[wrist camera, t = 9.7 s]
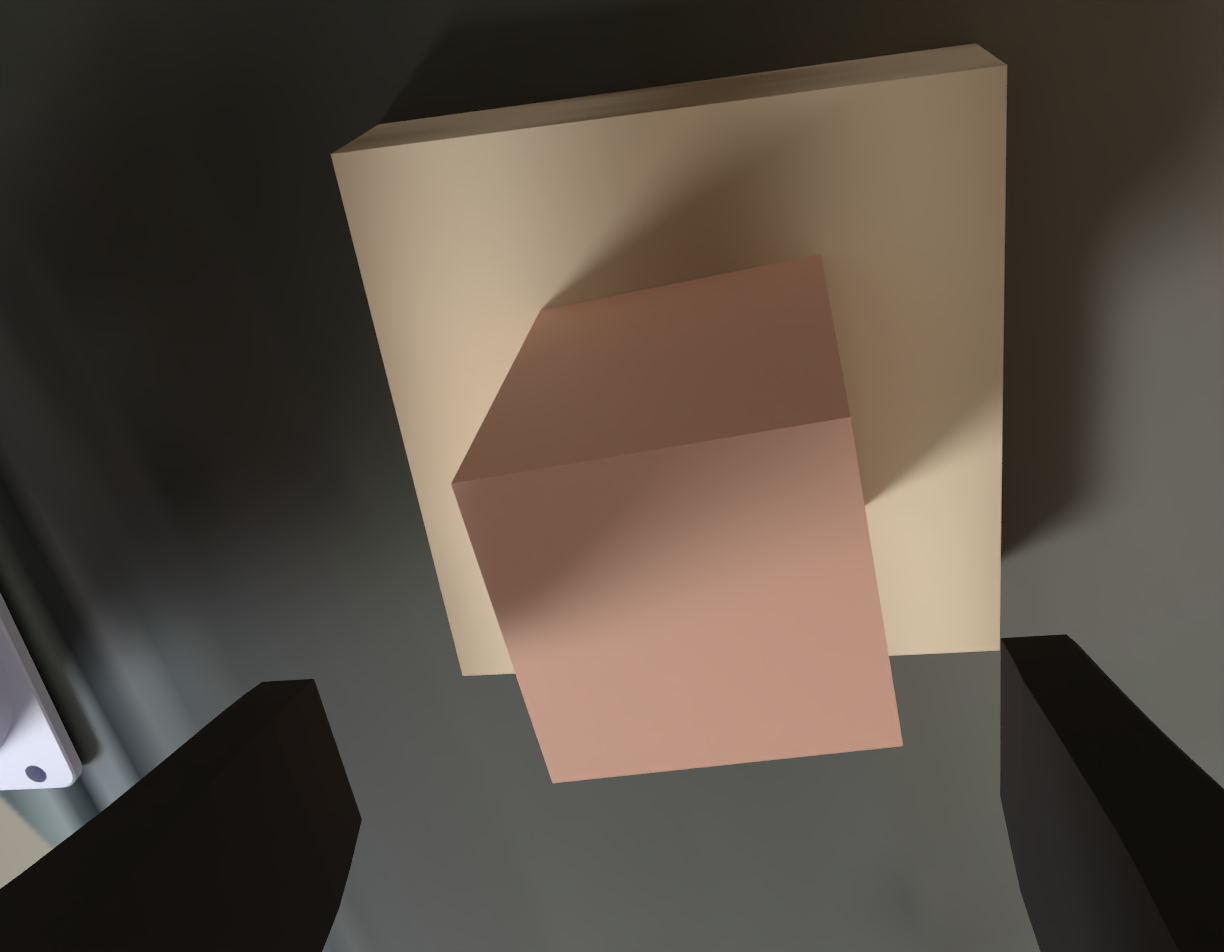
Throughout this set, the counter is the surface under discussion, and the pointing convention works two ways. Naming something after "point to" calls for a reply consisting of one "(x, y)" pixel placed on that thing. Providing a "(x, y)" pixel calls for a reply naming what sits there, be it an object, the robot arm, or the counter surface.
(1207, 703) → the counter surface
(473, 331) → the oak block
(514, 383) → the pinkish brown block
